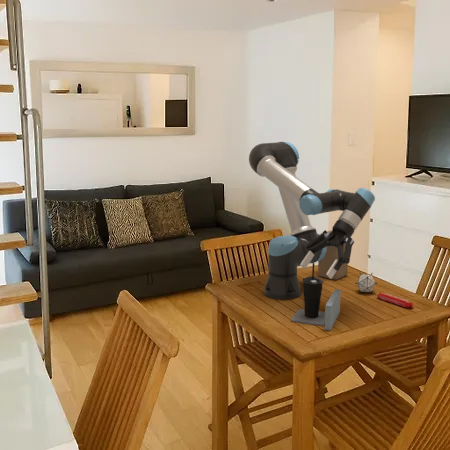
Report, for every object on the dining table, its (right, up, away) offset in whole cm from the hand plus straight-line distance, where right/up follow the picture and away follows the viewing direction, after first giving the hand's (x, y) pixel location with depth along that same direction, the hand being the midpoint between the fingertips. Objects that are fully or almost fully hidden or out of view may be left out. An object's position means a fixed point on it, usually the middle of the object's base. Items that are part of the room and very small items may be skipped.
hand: (315, 271), depth 202 cm
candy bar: (+34, -14, +18) cm, 41 cm away
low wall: (+6, -18, +1) cm, 19 cm away
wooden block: (+16, -6, +52) cm, 55 cm away
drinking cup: (-1, -17, +4) cm, 17 cm away
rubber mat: (-1, -17, +4) cm, 18 cm away
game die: (+26, -11, +30) cm, 41 cm away
